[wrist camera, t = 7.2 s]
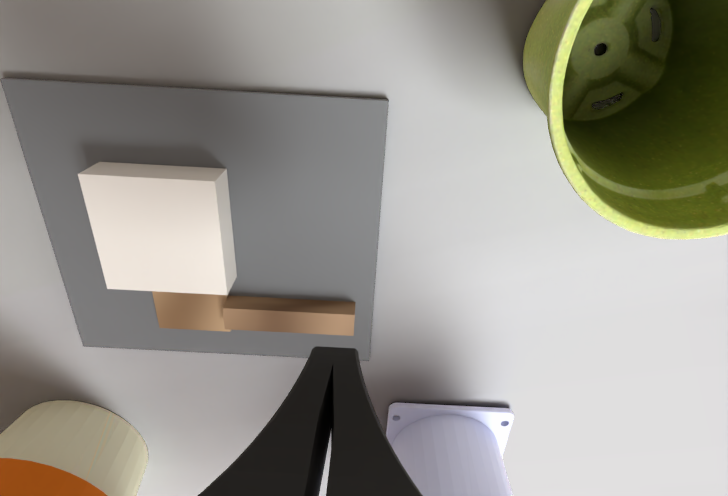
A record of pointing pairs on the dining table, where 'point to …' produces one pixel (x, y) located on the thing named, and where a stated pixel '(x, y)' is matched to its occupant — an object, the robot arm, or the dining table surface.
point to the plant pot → (638, 109)
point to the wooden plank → (253, 313)
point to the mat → (246, 192)
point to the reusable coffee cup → (71, 452)
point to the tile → (161, 227)
